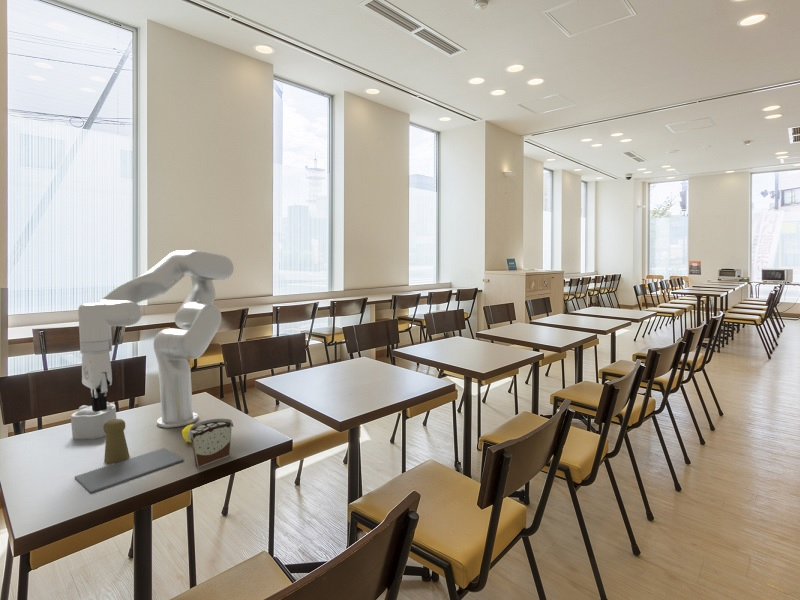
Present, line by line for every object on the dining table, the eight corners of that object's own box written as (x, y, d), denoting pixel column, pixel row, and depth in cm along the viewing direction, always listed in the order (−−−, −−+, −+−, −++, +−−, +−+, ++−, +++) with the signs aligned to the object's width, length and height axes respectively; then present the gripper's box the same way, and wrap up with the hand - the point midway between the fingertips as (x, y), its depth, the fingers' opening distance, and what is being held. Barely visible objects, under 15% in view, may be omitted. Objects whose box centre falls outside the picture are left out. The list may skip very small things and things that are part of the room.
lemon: (207, 440, 141) (209, 423, 140) (196, 447, 136) (197, 430, 135) (187, 435, 142) (188, 419, 142) (175, 442, 137) (176, 425, 136)
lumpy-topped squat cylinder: (67, 439, 142) (64, 412, 141) (94, 424, 155) (92, 398, 154) (101, 438, 142) (99, 411, 141) (125, 423, 155) (123, 398, 154)
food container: (223, 448, 134) (221, 414, 133) (235, 453, 130) (233, 419, 129) (180, 463, 124) (178, 427, 123) (192, 470, 120) (189, 433, 119)
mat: (74, 478, 117) (74, 476, 117) (164, 449, 134) (164, 447, 134) (90, 493, 109) (90, 491, 109) (183, 460, 126) (183, 459, 126)
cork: (102, 465, 124) (98, 425, 123) (106, 456, 129) (103, 418, 128) (128, 461, 126) (125, 422, 125) (131, 452, 132) (128, 415, 131)
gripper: (72, 345, 132) (75, 408, 134) (89, 351, 123) (93, 419, 124) (102, 342, 138) (105, 402, 139) (121, 347, 128) (124, 412, 130)
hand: (99, 410), depth 132 cm, fingers closed
